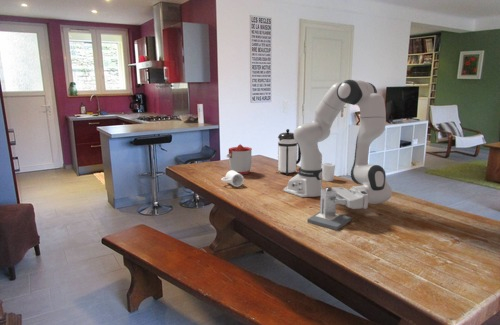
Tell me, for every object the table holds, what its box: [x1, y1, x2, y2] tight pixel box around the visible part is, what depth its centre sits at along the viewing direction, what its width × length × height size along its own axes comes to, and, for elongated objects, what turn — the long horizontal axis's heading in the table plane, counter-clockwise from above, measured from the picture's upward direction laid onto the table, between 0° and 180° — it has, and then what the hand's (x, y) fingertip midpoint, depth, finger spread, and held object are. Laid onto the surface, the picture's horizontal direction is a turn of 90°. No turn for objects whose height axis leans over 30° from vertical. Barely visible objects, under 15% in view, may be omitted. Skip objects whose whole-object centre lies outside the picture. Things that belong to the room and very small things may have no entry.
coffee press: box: [276, 128, 301, 177], centre depth 233 cm, size 17×16×30 cm
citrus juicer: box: [226, 143, 253, 176], centre depth 233 cm, size 16×17×20 cm
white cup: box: [322, 162, 336, 182], centre depth 216 cm, size 8×8×10 cm
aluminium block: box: [319, 186, 337, 218], centre depth 154 cm, size 5×5×13 cm
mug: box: [221, 169, 245, 188], centre depth 207 cm, size 12×10×8 cm
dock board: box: [307, 211, 352, 231], centre depth 152 cm, size 14×14×2 cm
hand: (329, 198), depth 153 cm, fingers open, 8 cm apart
